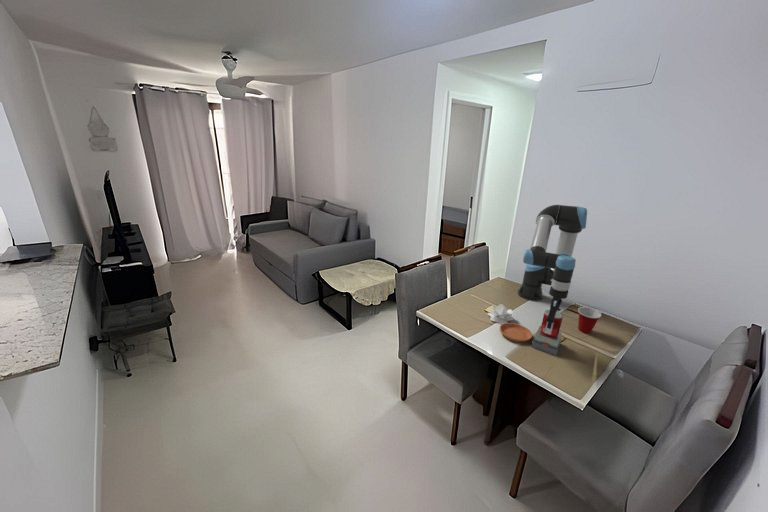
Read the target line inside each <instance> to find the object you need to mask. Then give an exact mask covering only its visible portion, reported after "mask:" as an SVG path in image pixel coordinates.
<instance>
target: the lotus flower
mask: <svg viewBox="0 0 768 512" xmlns="http://www.w3.org/2000/svg"><path fill="white" fill-rule="evenodd" d="M486 314H487V315H488V316H489V317H490V318H489V319H490V321H493V322H494V323H499V324H500V325H502V324H504V323H509V322H508V321H513V320H515V318H514V315H513V314H514V312H513V309H508V307H507V306H504V304H502V303H500V304H498V305H497V306H496V305H494V304H493V305H492V307H491V312H487V313H486Z"/></svg>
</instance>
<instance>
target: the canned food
mask: <svg viewBox="0 0 768 512" xmlns="http://www.w3.org/2000/svg"><path fill="white" fill-rule="evenodd" d="M557 311H558V310H557ZM557 311H556V315H555V318H554V323H553V328H552V332H551V335H550V334H547V333H544V332H545V328H546V324H547V321H546V319H548V315H549V312H550V309H545V310H544V313H543V317H542V321H541V325H540V326H541V332H542V333H543V334H544V335H546V336H549V337H557V336H558V334H559V332H560V330H561V326H562V321H563V318H564V315H563V313H562V312H560V311H559V312H557Z"/></svg>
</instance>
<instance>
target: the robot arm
mask: <svg viewBox="0 0 768 512" xmlns="http://www.w3.org/2000/svg"><path fill="white" fill-rule="evenodd" d="M587 218H588V209H587V208H586V207H583V206H573V205H566V204H565V205H561V204H552V205H549V206H547V207H545V208H543V209H542V210H541V211H540V212H539V213H538V214H537V216H536V218H535V224H536V227H535V229H534V234H533V237H532V239H531V240H532V241H531V245H530V248H529V249H525V250H524V252H523V253H524V254H523V258H522V262H523V264H526V265H525V268H524V274H523V277H522V278H523V279H522V283H521V285H520V286H519V288H518V291H517V295H518V296H519V297H521V298H522V299H525V300H528V301H541V300H542V299H543V295H544V294H543V289H542V286H543V285H547V286H550V288H549V292H548V293H549V295H550V296H551V297H552V299H551V304H550V309H549V310H550V312H549V315H548V319H546V321H547V324H546V328H545V332H544V333H547V334H550V335H551V332H552V328H553V323H554V318H555V315H556V311H557V312H559V313H560V312H561V304H562V301H563V299H564V300H565V299H567V298H568V295H569V290H570V287H571V283H572V278H573V273H574V271H575V270H574V269H575V268H576V261H577V260H576V258H575V257H572V256H573V252H574V249H575V245H576V243H577V242H576V241H577V237H578V234H579V233H581V232H582V231H583V230H584V229H586V227H587ZM554 226H557V227H558V230H559V231H560V232H559V233H560V234H559V237H558V242H557V246H556V251H555V253H552V252H547V249H548V244H549V239H550V235H551V232H552V231H551V230H552V227H554Z"/></svg>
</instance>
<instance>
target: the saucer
mask: <svg viewBox="0 0 768 512" xmlns="http://www.w3.org/2000/svg"><path fill="white" fill-rule="evenodd" d="M499 332H500V333H501V334H502V336H503V337H504V338H506V339H507V340H508V341H509V340H510V341H512V342H516V343H525V342H528V341H530V340H532V337H533V333H532V331H531V330H530V329H528V327H525V326H524V325H522V324H518V323H515V322H507V323H504V324H500V326H499Z"/></svg>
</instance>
